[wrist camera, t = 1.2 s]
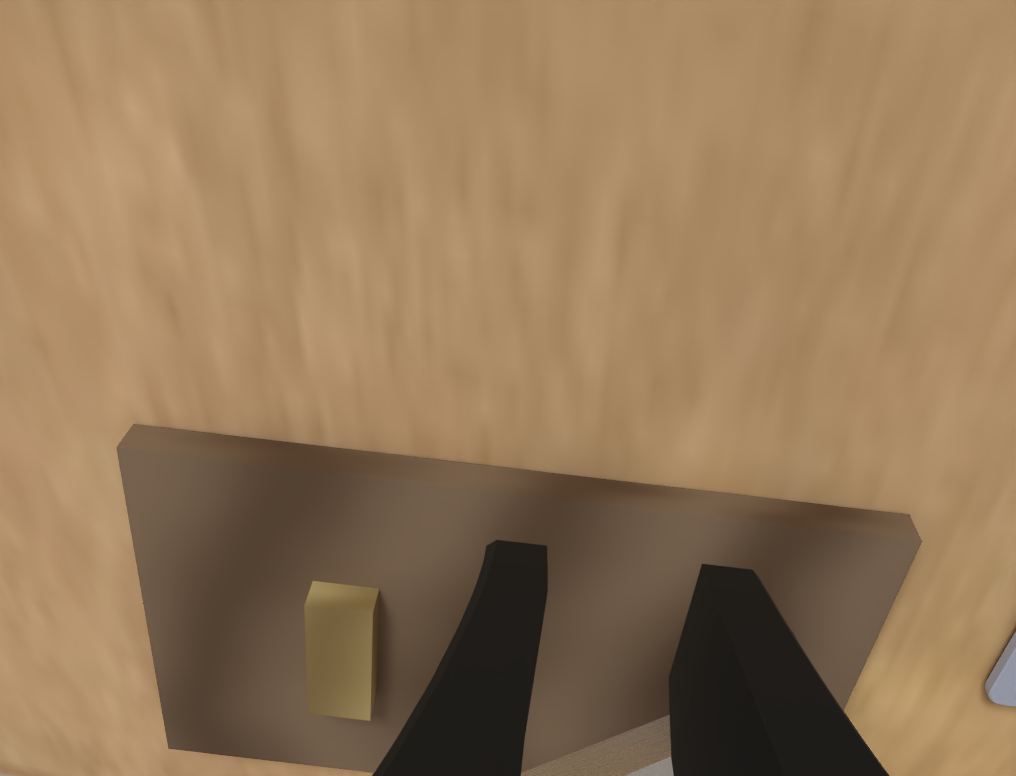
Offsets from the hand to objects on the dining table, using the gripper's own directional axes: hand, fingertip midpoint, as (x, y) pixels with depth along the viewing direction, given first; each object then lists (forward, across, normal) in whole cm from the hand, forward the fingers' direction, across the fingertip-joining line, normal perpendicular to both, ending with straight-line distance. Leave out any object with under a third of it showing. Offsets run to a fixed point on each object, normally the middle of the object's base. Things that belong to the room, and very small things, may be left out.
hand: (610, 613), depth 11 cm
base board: (+10, +1, +12) cm, 16 cm away
